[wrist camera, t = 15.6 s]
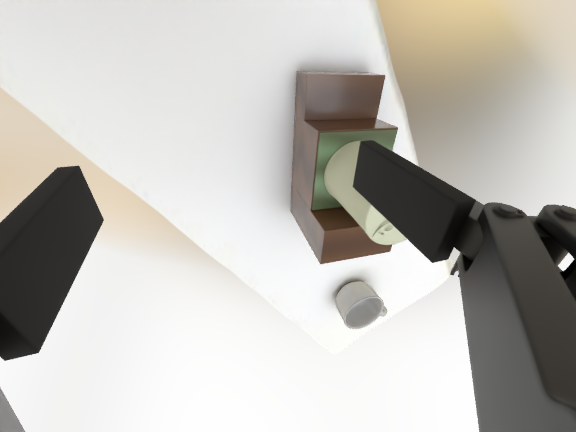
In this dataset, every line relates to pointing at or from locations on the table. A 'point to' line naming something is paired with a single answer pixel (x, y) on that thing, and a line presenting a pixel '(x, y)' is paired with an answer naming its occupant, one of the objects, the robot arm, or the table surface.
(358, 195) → the can
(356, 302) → the teacup
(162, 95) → the table surface
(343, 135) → the shelf riser
